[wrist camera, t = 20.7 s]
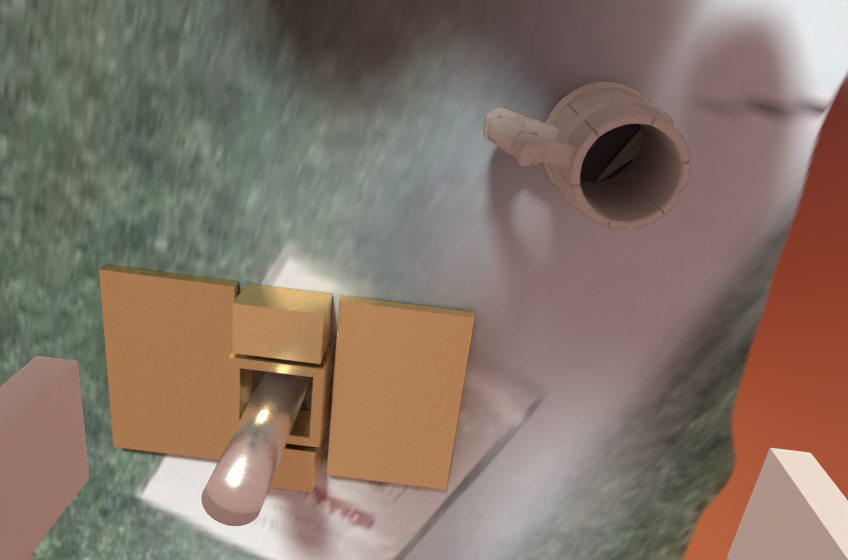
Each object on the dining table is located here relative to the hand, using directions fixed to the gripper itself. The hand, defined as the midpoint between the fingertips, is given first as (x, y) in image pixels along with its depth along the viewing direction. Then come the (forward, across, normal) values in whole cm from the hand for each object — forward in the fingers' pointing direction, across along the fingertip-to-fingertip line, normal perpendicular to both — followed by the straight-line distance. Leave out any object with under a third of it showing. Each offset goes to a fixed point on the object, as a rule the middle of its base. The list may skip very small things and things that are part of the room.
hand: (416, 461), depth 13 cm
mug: (+35, +8, +1) cm, 36 cm away
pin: (+35, -10, -21) cm, 42 cm away
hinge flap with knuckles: (+35, -5, -21) cm, 41 cm away
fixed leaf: (+35, -15, -21) cm, 43 cm away
